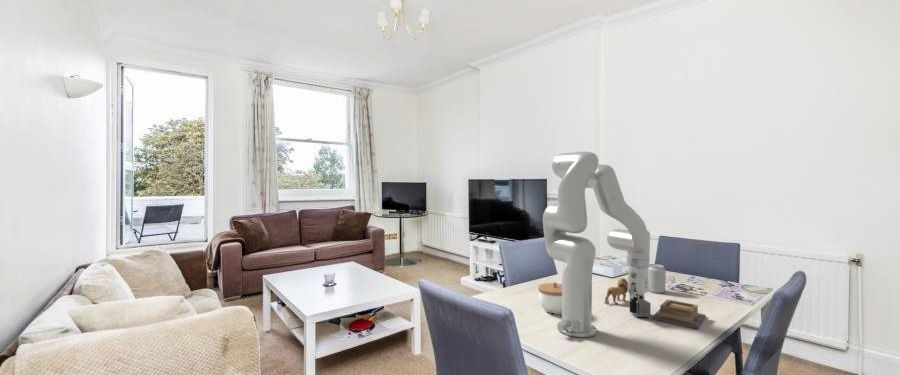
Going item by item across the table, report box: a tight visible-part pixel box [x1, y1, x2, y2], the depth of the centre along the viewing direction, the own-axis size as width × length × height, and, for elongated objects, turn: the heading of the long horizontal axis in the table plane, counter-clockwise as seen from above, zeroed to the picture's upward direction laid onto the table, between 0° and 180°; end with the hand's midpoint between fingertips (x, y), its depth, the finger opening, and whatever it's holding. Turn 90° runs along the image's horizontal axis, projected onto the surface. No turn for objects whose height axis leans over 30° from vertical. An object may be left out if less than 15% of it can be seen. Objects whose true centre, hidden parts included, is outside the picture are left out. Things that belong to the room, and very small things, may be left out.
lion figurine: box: [604, 277, 629, 305], centre depth 155 cm, size 15×5×9 cm, turn 130°
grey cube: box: [630, 299, 652, 318], centre depth 139 cm, size 5×5×5 cm
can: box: [648, 263, 666, 294], centre depth 169 cm, size 8×8×12 cm
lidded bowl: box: [537, 281, 562, 315], centre depth 144 cm, size 13×13×11 cm
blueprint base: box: [651, 299, 706, 330], centre depth 137 cm, size 16×14×5 cm
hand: (636, 310), depth 140 cm, fingers closed on grey cube, 5 cm apart
